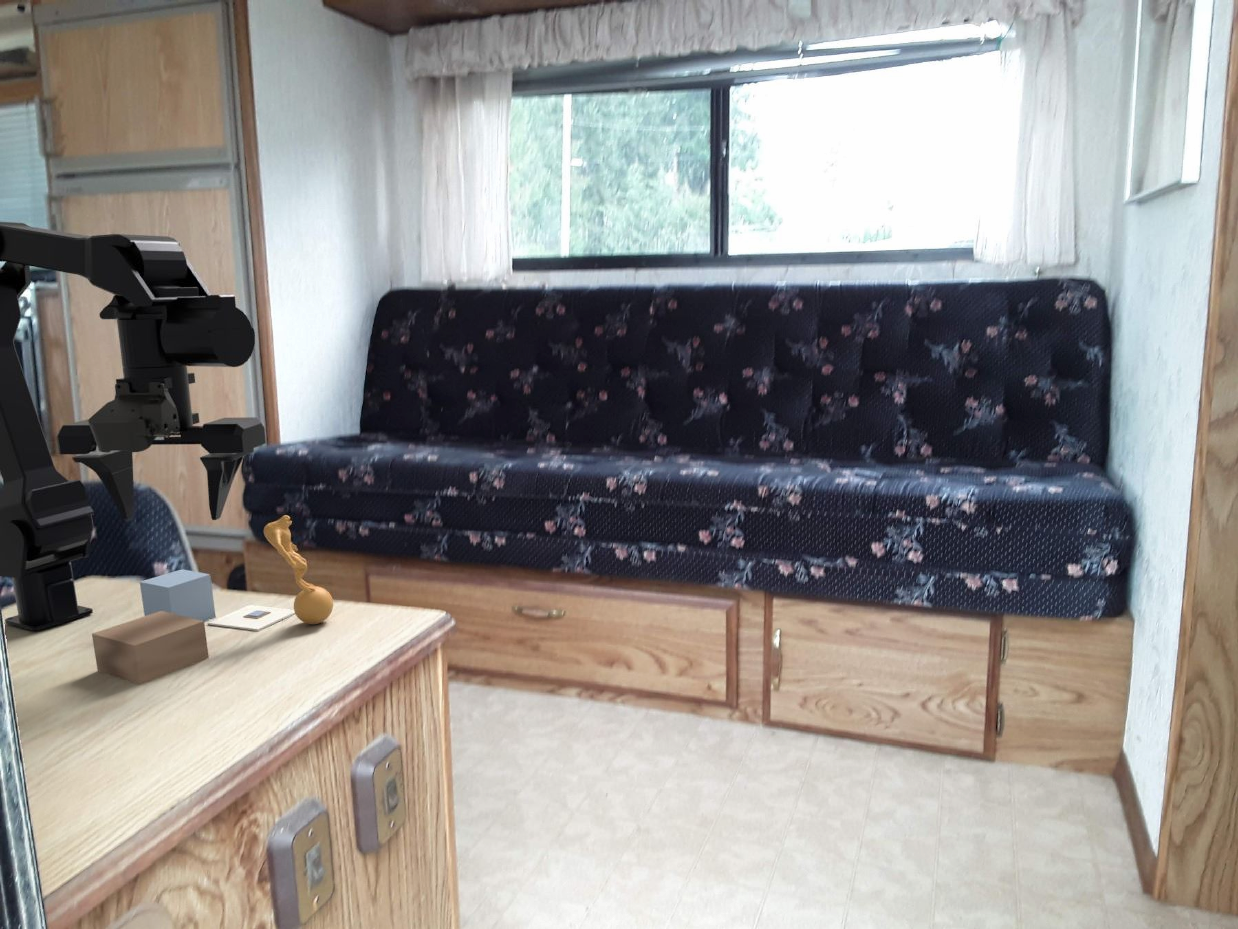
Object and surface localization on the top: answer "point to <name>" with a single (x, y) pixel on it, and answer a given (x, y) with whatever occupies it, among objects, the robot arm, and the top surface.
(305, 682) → the top surface
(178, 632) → the base brick
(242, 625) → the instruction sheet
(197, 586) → the blue brick
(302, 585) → the figurine
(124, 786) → the top surface
